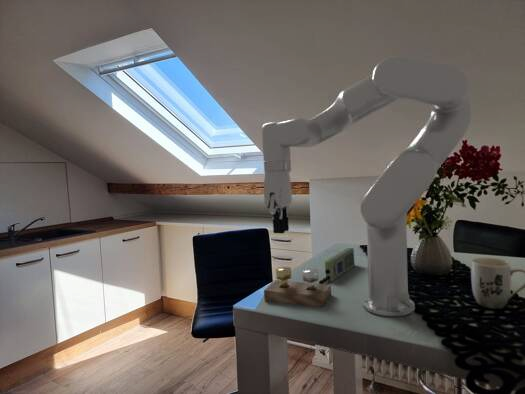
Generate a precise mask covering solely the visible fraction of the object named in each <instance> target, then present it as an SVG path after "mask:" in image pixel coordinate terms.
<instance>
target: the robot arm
mask: <svg viewBox="0 0 525 394" xmlns="http://www.w3.org/2000/svg"><path fill="white" fill-rule="evenodd" d="M374 67H375V68H374V69H373V70H372V73H371V74H369V75H368V76H366V77H364V78H363V79H361V80H360V81H358V82H356V83H354V84H353V85H351V86H349V87H347V88H346V89H344V90H342V91H341V92H340V93H339V94H338V96H337V98H336V99H335V101H334V102H333V104H332V105H331V106H330V107H328V108H327V109H325V110H324V111H322V112H320V113H319V114H316V116H314V117H311V118H310V119H307V118H301V117H297V118H292V119H289V120H286V121H285V120H284V121H271V122H267V123H264V124H263V125H262V127H261V133H262V134H261V136H262V137H261V139H262V140H261V141H262V153H263V154H262V155H263V156H262V157H263V168H264V169H263V172H264V184H263V200H264V208H266V209H267V210H268V209H269V210H268V211H269V213H270V214H271V218H272V226H273V228H272V230H273V231H272V232H273V234H285V232H288V231H289V230H290V229H289V228H290V227H289V226H290V225H289V208H290V205H291V204H292V202H293V201H292V197H293V195H292V186H291V176H290V173H292V163H291V162H292V161H291V148H292V147H294V148H312V147H315V146H317V145H320V144H322V143H323V142H325V141H327V140H329V139H331V138H333V137H334V136H336V135H338V134H339V133H342V132H343V131H345V130H346V129H347V128H350V127H351V126H353V125H355V124H356V123H358V122H359V121H361V120H363V119H365V118H366V117H369V116H371V115H373V114H374V113H376V112H378V111H380V110H381V109H384V108H385V107H387V106H389V105H391V104H393V103H395V102H397V101H399V100H401V99H404V100H408V101H413V102H416V103H417V102H418V103H422V104H426V105H428V106H429V107H430V110H431V111H430V116H429V119H428V120H427V122H426V123H425V124H424V126H423V127H422V129H421V130H419V132H418V134H417V135H416V136H415V138H414V139H413V140H412V142H411V143H409V145H408V146H407V147H406V148H405V149H404V150H402V151H400V152H399V153H398V154H396V156H394V158H393V159H392V160H391V161H390V162H389V164H387V167H386V168H385V169H384V170H383V171H382V173H381V174H380V175H379V177H378V178H377V179H376V180H375V182H374V183H373V185H372V186H371V187H370V188H369V190H368V191H367V192H366V193H365V194H364V196H363V198H362V199H361V203H360V214H361V215H360V216H362V219H363V221H364V222H365V223H366V241H367V242H366V245H367V273H368V275H367V276H368V277H367V278H368V281H367V282H368V296H366V297H365V298H364V299H363V301H362V306H363V308H364V309H365V310H366V311H368V312H370V313H372V314H375V315H379V316H385V317H403V316H407V315H410V314H412V313H413V312H414V311H415V310H416V307H415V306H416V304H415V302H414V301H413V300H412V299H410V294H409V290H408V289H409V287H408V286H409V285H408V284H409V283H408V281H409V280H408V234H407V232H408V231H407V219H408V218H407V215H408V212H409V211H410V210H411V208H412V207H414V205H415V204H416V203H417V201H418V200H419V199H420V198H421V197H422V195H423V194H424V193H425V192H426V191H427V190H428V188H429V187H430V186H431V184H433V182H434V180H435V178H436V175H437V171H438V170H439V169H440V167H441V166H442V165H443V163H444V162H445V161H446V160H447V159H448V158H449V156H450V155H451V154H452V152H453V151H454V149H456V147H457V146H458V145H459V143H460V142H461V140H462V139H463V138H464V136H465V135H466V133H467V130H468V129H469V125H470V122H471V118H472V104H471V101H470V98H469V96H468V93H469V89H470V80H469V77H468V75H467V74H466V72H465V71H464V70H463V69H462V68H459V67H458V66H456V65H452V64H448V63H442V62H436V61H430V60H424V59H418V58H414V57H413V58H412V57H407V56H402V55H401V56H400V55H399V56H398V55H391V56H388V57H385V58H383V59H382V60H380V61H379V62H378V63H377V64H376V66H374Z"/></svg>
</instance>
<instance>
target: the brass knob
mask: <svg viewBox="0 0 525 394" xmlns="http://www.w3.org/2000/svg"><path fill="white" fill-rule="evenodd" d="M275 277H276V278H275V279H276V280H279V281H281V288H288V281H289V279H291V278H292V267H289V266H279V267H276V268H275Z"/></svg>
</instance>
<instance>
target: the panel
mask: <svg viewBox="0 0 525 394" xmlns="http://www.w3.org/2000/svg"><path fill="white" fill-rule="evenodd" d="M314 284H315V290H314V291H311V290H308V288H307V282H302V281H301V282H300V281H289V280H288V288H281V280H279V279H276V280H274V281H273V282H272V283H271V284H269V285H268V286H267V287H266V288H265V289H264V290H263V297H264V298H263V299H264V301H265V302H273V303H274V302H275V303H283V304H293V305H300V306H301V305H302V306H309V307H312V306H313V307H319V308H320V307H321V308H324V306H325V305H326V303H327V302H328V301H329V299H330V298H331V296H332V285H331V284H326V283H324V284H319V283H315V282H314Z"/></svg>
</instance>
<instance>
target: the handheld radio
mask: <svg viewBox="0 0 525 394" xmlns="http://www.w3.org/2000/svg"><path fill="white" fill-rule="evenodd" d="M354 250H355V249H354V248H353V247H348V248H347V247H346V248H345V249H343V250H342V251H340V252H339V253H337V254H335V255H332V256H331V257H330V258H328V259H326V260H325V261H324V268H325V270H324V272H325V277H324V278H322V279H321V280H318V284H326V283H327V282H333V281H335V280H336V279H337V278H339V277H340V276H342V275H344V274H345V273H346V272H348V271H349V270H350V269H352V268H353V267H355V265H356V263H355V253H354Z"/></svg>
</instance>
